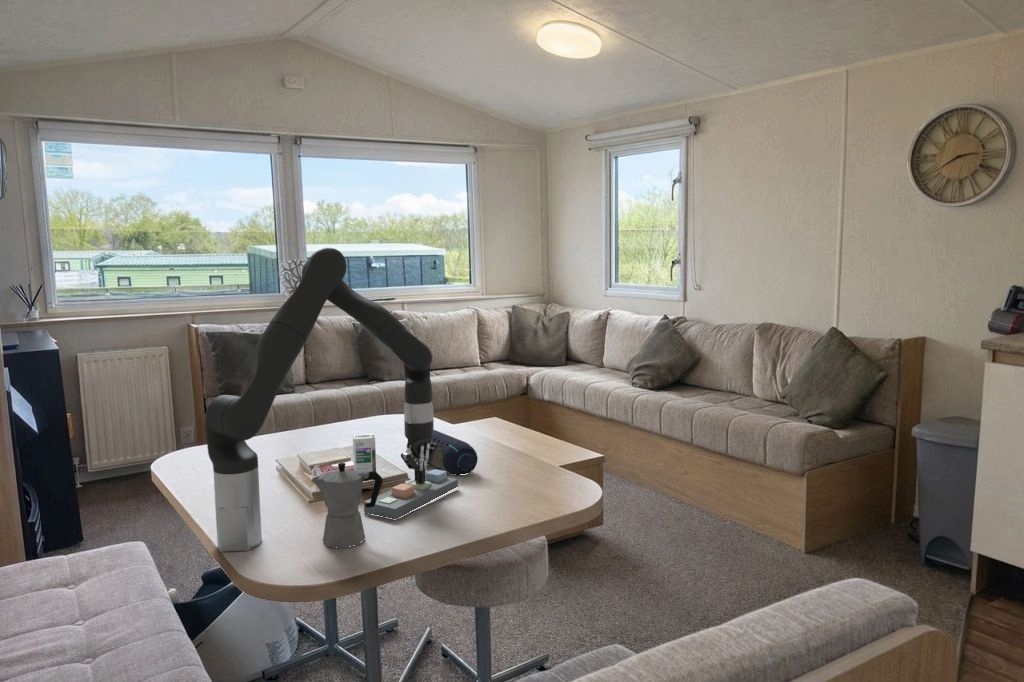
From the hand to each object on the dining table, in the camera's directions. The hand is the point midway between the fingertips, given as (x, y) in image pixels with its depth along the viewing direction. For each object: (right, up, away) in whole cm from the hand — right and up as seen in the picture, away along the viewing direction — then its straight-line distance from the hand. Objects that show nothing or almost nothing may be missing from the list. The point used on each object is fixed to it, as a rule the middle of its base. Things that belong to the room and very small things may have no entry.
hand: (420, 482), depth 188 cm
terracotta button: (-4, -3, -6) cm, 7 cm away
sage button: (0, -3, 0) cm, 3 cm away
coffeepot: (-12, -8, -27) cm, 31 cm away
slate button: (+4, -2, +6) cm, 7 cm away
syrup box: (-16, -3, +9) cm, 19 cm away
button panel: (-2, -4, -2) cm, 5 cm away
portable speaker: (+4, -1, +26) cm, 27 cm away
